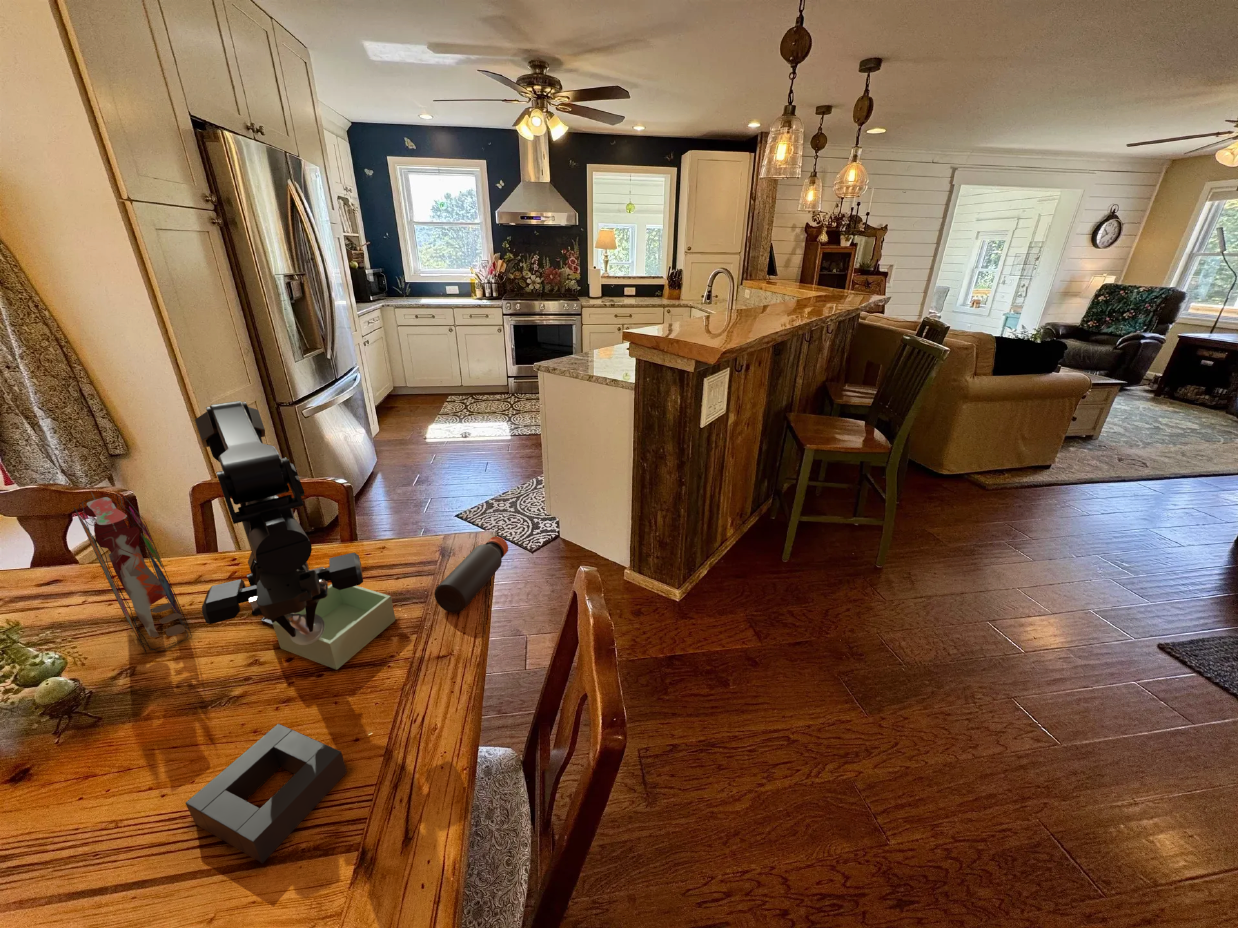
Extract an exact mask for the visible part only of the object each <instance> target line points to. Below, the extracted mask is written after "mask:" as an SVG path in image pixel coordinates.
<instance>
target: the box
mask: <svg viewBox="0 0 1238 928" xmlns="http://www.w3.org/2000/svg"><path fill="white" fill-rule="evenodd" d="M90 494H91V496H92V498H89V499H86V500H84V501H82V502H80V503H79V504H78V508H79V510H80V512H81V515H82V517H83V518H82V517H81V515H80V514H79V512H78V510H77V509H76V507H75V506H73V509H74V511H75V513H76V516H77V518H78V520H79V522H80V524H81V526H82V528H83V530H84V532H85V534H86V537H87V539H88V542H89V543H90V546H91V547H92V550H93V551H94V553H95V555H96V558H97V560H98V562H99V564H100V567H101V569H102V570H103V573H104V575H105V577H106V579H107V582H108V585H109V586H110V588H111V590H112V592H113V594H114V596H115V599H116V601H117V603H118V605H119V607H120V609H121V611H122V614H123V616H124V617H125V619H126V621H127V623H128V624H129V626H130V628H131V629H132V631H133V633H134V634H135V636H136V639H138V641H139V643H140V645H141V647H142V649H143V650H144V652H145V653H146V654H147V649H146V648H145V646H146V647H148V649H149V650H151V651H155V652H159V653H161V652H163V651H166V650H168V649H170V648H172V647H174V646H176V645H178V644H180V643H182V642H184V641H188V640H190V639H192V638H193V635H192V632H191V629H190V627H189V625H188V622H187V619H186V617H185V614H184V612H183V610H182V606H181V604H180V602H179V600H178V597H177V594H176V593H175V590H174V588H173V585H172V583H171V581H170V578H169V576H168V573H167V570H166V568H165V566H164V564H163V561H162V559H161V556H160V554H159V552H158V550H157V547H156V545H155V542H154V540H153V538H152V535H151V532H150V530H149V527H148V525H147V523H146V522H145V520H144V518H143V517H142V516H141V514H140V513H139V512H138V511H137V510H136V508H135V507H134V506H133V505H132V503H131V502H130V501H129V500H128V499H127V497H125V496H123V495H122V497H123V500H122V498H121V495H119V493H115V492H111V493H110V495H109V493H107V494H103V495H99V496H95V495H94V494H93V492H92V491H90ZM113 495H115V496H116V501H114V500H112V498H110V497H112V496H113ZM119 499H120V502H119ZM123 501H124V503H125V505H126V507H125V506H124V505H123ZM126 501H127V502H128V503H129V504H130V505H128V504H127V502H126ZM84 503H86V505H85V507H84ZM80 505H82V506H81V507H82V509H81V507H80ZM118 506H119V507H120V509H121V510H119V508H118ZM82 510H83V511H82ZM125 510H126V511H127V512H128V514H129V515H130V518H129V517H128V515H127V513H126V512H125ZM85 515H86V516H87V517H90V518H96V519H95V520H96V522H95V523H94V524H90V523H89V521H87V519H86V517H85ZM126 518H127V519H126ZM125 519H126V520H125ZM130 519H131V520H132V522H131V520H130ZM127 521H128V522H129V523H130V524H129V525H128V524H127V523H126V522H127ZM132 523H133V524H132ZM89 525H90V526H92V527H93V532H94V533H93V534H94V535H93V534H92V532H91V531H90V527H89ZM136 525H138V526H136ZM130 526H131V527H130ZM139 528H140V529H141V532H140V529H139ZM144 534H145V535H146V536H147V537H148V538H147V537H146V536H144ZM140 541H141V542H140ZM141 544H142V547H143V548H144V551H145V554H146V556H147V558H148V561H149V563H150V566H151V568H152V570H153V571H152V570H151V569H150V568H149V567H148V565H147V564H146V561H145V559H144V555H143V552H142V547H141ZM100 549H101V551H102V552H103V555H104V557H105V559H104V557H103V555H102V553H101V551H100ZM104 549H108V551H109V552H110V553H109V554H108V558H109V560H110V562H111V565H112V568H113V570H114V573H115V574H116V576H117V578H116V579H115V577H114V575H113V571H112V570H111V568H110V566H109V565H110V564H109V562H108V558H107V555H106V552H105V551H104ZM105 560H106V562H105ZM163 570H164V572H165V573H164V572H163ZM117 580H119V581H117ZM119 583H120V585H121V586H122V588H123V590H124V592H125V593H126V595H127V597H128V598H129V599H130V600H131V603H132V607H133V609H134V610H133V609H131V606H130V604H129V601H128V600H127V599H126V597H125V596H124V594H123V592H122V590H121V587H120V585H119ZM164 598H165V599H166V601H167V602H168V603H167V602H166V603H164V604H160V605H158V606H155V607H153V608H151V606H152V605H154V604H155V603H157V602H159V601H161V600H162V599H164ZM128 609H129V611H130V612H129V611H128ZM168 610H172V612H173V613H171V614H170V613H169V614H168V615H166V616H163V617H162V618H160V619H159V620H158V621H159V623H160V624H167V623H169V622H172V621H175V620H179V622H180V624H175V625H173V626H170V627H168V628H165V634H166V636H168V637H174V636H178V635H181V634H182V633H184V632H186V639H183V640H178V641H175V642H171V643H169V644H166V645H163V646H159V647H155V648H152V647H151V646H149V643H148V641H147V640H146V638H145V636H144V635H143V633H142V632H141V630H140V629H139V627H138V624H137V622H136V621H137V620H136V619H137V618H138V620H139V621H140V622H141V623H142V625H143V628H145V631H146V632H147V634H148V636H149V637H150V638H158V637H160V635H159V632H158V631H157V629H156V627H155V623H154V619H153V616H152V613H154V614H158V613H163V612H166V611H168ZM133 612H135V614H136V617H134V615H133ZM183 619H184V621H185V622H184V621H183ZM185 623H186V624H185ZM186 629H187V630H188V631H189V634H188V631H187V630H186ZM188 635H190V636H191V637H189V636H188ZM141 637H142V638H143V639H144V642H145V643H144V642H143V641H142V638H141ZM188 637H189V638H188ZM187 638H188V639H187ZM172 644H173V645H172ZM169 645H170V646H169ZM167 646H169V647H167ZM165 647H167V648H165ZM161 648H165V649H162V650H157V649H161Z"/></svg>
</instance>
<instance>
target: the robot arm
mask: <svg viewBox="0 0 1238 928" xmlns="http://www.w3.org/2000/svg"><path fill="white" fill-rule="evenodd" d="M205 410H206V411H205V412H204V413H203V414H201V415H200V416H198V417H196V418H195V419H194V422H195V425H196V428H197V431H198V434H199V437H200V440H201V444H202V446H203V448H209V450H210V453H211V456H212V457H213V459H214V460H215V461H217V462H218V463H219V464H220V467H221V470H219V471H216V472H215V473H216V476H217V479H218V482H219V483H218V484H219V485H220V488H221V492H222V495H223V498H224V500H225V503H226V506H227V509H228V512H229V515H230V518H231V521H232V524H233V525H236V524H240V523H241V524H242V526H243V529H244V532H245V536H246V539H247V542H248V544H249V548H250V555H249V556H248V560H247V564H248V565H247V566H248V567H249V571H250V573H246V578H247V581H248V583H249V586H246V583H245V580H243V579H242V578H239V579H236V580H232V581H226V582H222V583H219V584H214V585H211V587H210V588H209V589H208V590H207V591H206V595H205V598H204V600H203V603H202V606H201V612H202V616H203V618H204V621H205V624H209V625H213V624H218V623H221V622H224V621H228V620H229V621H230V620H232V619H235V618H236V617H237V615H238V614H239V613H240V612H241V607H240V604H243V603H247V602H248V604H250V606H251V616H253V617H259V616H263V617H262V618H261V619H260V620H261V623H262V624H266V625H269V626H271V627H273V624H272V623H274V622H275V621H276V622H277V623H278V624H279V625H280V626H281V627H282V628H284V629H285V630H286V631H287V632H288V633H289V634H290V635H291V636H292V637H295V636H296V630H295V628H294V627H292V626H291V624H290V620H289V619H288V616H289V615H290V613H297V612H300V611H302V610H303V609H304V608H305V609H306V618H307V626H308V629H309V632H312V631H313V626H314V618H315V611H316V607H317V604H318V602H319V600H320V599H323V598H325V597H327V595H328V586H329V582H330V583H331V584H332V587H333V588H336V589H338V590H342V589H346V588H350V587H354V586H360V585H362V584H363V583H364V576H363V575H364V574H363V567H362V563H361V559H360V555H359V554H357V553H356V552H349V553H346V554H342V555H337V556H333V557H329V559H328V560H329V564H328V565H329V566H328V567H324V566H320V567H315V568H312V569H309V568H310V567H309V563H308V561H309V559H310V557H311V555H312V551H313V547H312V543H311V541H310V539H309V537H308V535H307V533H306V532H305V531H304V529H303V527H302V526H301V524H300V523H299V521H298V520H297V519H296V518H295V514H294V510H293V509H296V508H300V507H304V506H305V505H304V501H303V498H302V497H305V489H304V487H303V485H302V482H301V479H300V477H299V474H298V472H297V469H296V466H295V464H293V463H291V462H290V459H288V458H287V457H281V455H280V453H279V452H278V450H277V447H275V446H274V445H272V444H267V443H263V439H262V438H265V437H266V427H265V426H264V422H263V420H262V417H261V416H262V415H261V414H260V411H259V409H257V408H253V407H250V406H249V405H248V403H247V402H246V401H241V400H236V401H229V402H221V403H214V404H210V406H206V407H205ZM290 490H291V494H287V495H283V494H286V493H289V492H290ZM278 495H279V496H278ZM280 495H283V496H280ZM292 496H293V497H292ZM234 505H236V506H238V505H240V506H239V507H237V510H238V511H235V507H234Z"/></svg>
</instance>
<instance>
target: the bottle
mask: <svg viewBox="0 0 1238 928" xmlns="http://www.w3.org/2000/svg"><path fill="white" fill-rule="evenodd" d="M508 552H509V544H508V542H507V541H506V540H505V539H504V538H503V537H500V536H497V535H496V536H492V537H490V538H489V540H488V541H487V542H486V543H483V544H479V545H477V546H476V547H475V548H474V549H473V550H472V551H471V552H470V553H469V554H468V555H467V556H466V557H465V558H464V559H463V560H462V561H461V562H460V563H459V564H458V565H457V566H456V567H455V568H454V569H453V570H452V571H451V572H450V573H449V574H448V575H447V576H446V577H445V578H444V579H443V580H442V581H440V583H439V584H438V585H437V586H436V588H435V589H434V599H435V601H436V604H437V605H438V606H439V607H440V608H441V609H443V611H445V612H447V613H451V614H460V613H461V612H463V611H464V610H465V609H466V608H467V607H468V606H469V604H470V603H471V602H472V601H473V600H474V598H476V596H477V595H478V594H479V593H480V591H481V590H482V589H483V588H484V587H485V585H486V584H487V583H488V582H489V581H490V580H491V579H492V577H493V576H494V575H495V574H496V573H497V571H498V570H500V568H501V567H502V562H503V558H504V557H505V556H506V555H507V553H508Z"/></svg>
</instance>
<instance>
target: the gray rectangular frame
mask: <svg viewBox="0 0 1238 928" xmlns="http://www.w3.org/2000/svg"><path fill="white" fill-rule="evenodd" d="M280 769H283V770H284V771H287V772H288V773H291V774H293V775H292V776H291V778H289V780H288V781H286V782H285V783H284V784H283V785H282V786H281V787H280V788H279V789H278V790H277V791H276V792H275V793H274V794H273V795H272V796H271V797H270V798H269V799H268V800H267V801H266V802H265V803H264V804H262V806H260V807H258V806H257V805H254V803H251V802H249V801H247V800H248V799H249V798H250V797H252V796H253V794H255V792H256V791H258V790H259V789H260V788H261V787H262V786H263V785H264V784H265V783H266V782H267V781H268V780H269V779H270V778H271V777H272V776H273V775H274V774H276V773H277V772H278V771H279V770H280ZM347 770H348V769H347V766H346V763H345V760H344V757H343V753H342V751H341V750H339V749H336V748H334V747H332V746H330V745H328V744H326V743H322V742H321V741H319V740H316V739H314V738H313V737H310V736H307V735H305V734H303V733H301V732H298V731H296V730H294V729H291V728H289V727H287V726H285V725H283V724H281V723H277V724H276V725H275V726H273V727H272V728H271V729H270V730H269V731H267V732H266V733H265V734H264V735H263V736H262V737H260V738H259V739H258V740H257V741H256V742H254V743H253V745H251V746H250V747H248V749H247V750H245V751H244V752H243V753H242V754H241V755H239V757H237V758H236V759H235V760H234V761H232V762H231V763H230V764H229V765H228V766H227V767H226V768H224V769H223V770H222V771H220V772H219V774H217V775H216V776H215V777H213V778H212V779H211V780H210V781H209V782H208V783H207V784H205V786H203V787H202V788H201V789H200V790H199V791H197V792H196V793H195V794H194V795H193V796H192V797H190V798H189V799H188V800H186V802H185V806H186V808H187V810H188V812H189V813H190V816H191V818H192V820H193V822H194V824H195V825H196V826H198V827H199V828H201V829H203V830H204V831H206V832H208V833H210V834H212V835H213V836H214V837H217V838H218V839H220V840H221V841H223V842H225V843H226V844H228V845H230V846H232V847H233V848H235V849H237V850H238V851H240V852H242V853H244V854H246V855H247V856H249V857H250V858H252V859H254V860H256V861H257V862H258V863H260V864H262V865H263V864H264V863H265V862H266V861H267V860H268V859H269V858H270V856H272V854H273V853H274V852H275V851H276V850H277V849H278V848H279V846H281V844H282V843H284V841H285V840H286V839H287V838H288V837H289V836H290V835H291V834H292V833H293V831H294V830H295V829H296V828H297V827H298V826H299V825H300V824H301V823H302V822H303V821H304V820H305V818H306V817H307V816H308V815H309V814H310V813H311V812H312V811H313V810H314V809H315V808H316V807H317V805H319V804H320V802H321V801H322V800H323V799H324V798H325V797H326V796H327V795H328V793H330V791H332V789H333V788H334V787H335V786H336V785H337V784H338V783H339V782H340V781H341V780H342V778H343V777H344V776H345V775H346V774H347V773H348V771H347Z"/></svg>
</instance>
